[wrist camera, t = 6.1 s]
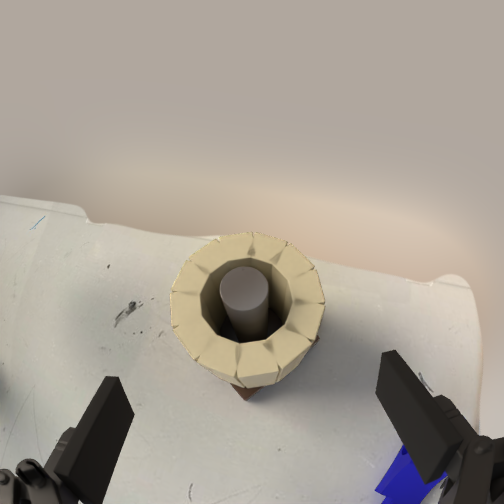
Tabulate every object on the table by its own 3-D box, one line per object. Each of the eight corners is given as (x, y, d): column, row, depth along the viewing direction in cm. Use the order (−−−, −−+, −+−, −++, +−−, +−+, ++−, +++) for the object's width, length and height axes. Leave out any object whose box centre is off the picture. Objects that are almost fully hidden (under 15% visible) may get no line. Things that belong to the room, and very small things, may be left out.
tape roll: (328, 338, 23) (354, 305, 16) (243, 409, 21) (232, 408, 14) (259, 265, 27) (256, 210, 20) (178, 325, 25) (144, 287, 18)
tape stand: (317, 342, 25) (349, 294, 15) (245, 401, 22) (230, 394, 13) (259, 279, 28) (254, 204, 19) (190, 330, 26) (146, 278, 16)
